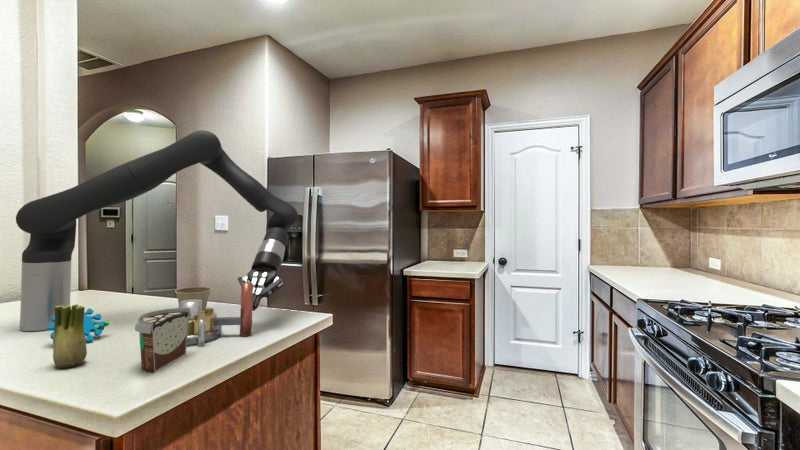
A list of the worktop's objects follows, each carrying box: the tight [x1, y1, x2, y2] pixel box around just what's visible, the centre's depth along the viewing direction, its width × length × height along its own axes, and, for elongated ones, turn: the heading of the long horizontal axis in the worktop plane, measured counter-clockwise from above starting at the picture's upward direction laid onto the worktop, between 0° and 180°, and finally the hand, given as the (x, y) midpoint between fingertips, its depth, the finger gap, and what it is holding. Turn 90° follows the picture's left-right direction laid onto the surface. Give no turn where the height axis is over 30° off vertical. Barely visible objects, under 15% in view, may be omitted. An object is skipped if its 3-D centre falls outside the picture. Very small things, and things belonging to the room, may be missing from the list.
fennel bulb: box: [52, 303, 88, 369], centre depth 70 cm, size 6×5×12 cm
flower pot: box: [174, 286, 212, 311], centre depth 104 cm, size 9×9×9 cm
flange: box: [180, 299, 223, 348], centre depth 87 cm, size 16×14×9 cm
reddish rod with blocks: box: [188, 282, 253, 337], centre depth 89 cm, size 20×11×13 cm, turn 102°
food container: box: [134, 307, 191, 374], centre depth 72 cm, size 12×6×10 cm, turn 178°
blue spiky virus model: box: [46, 308, 111, 343], centre depth 84 cm, size 11×6×10 cm
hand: (250, 309), depth 93 cm, fingers closed
